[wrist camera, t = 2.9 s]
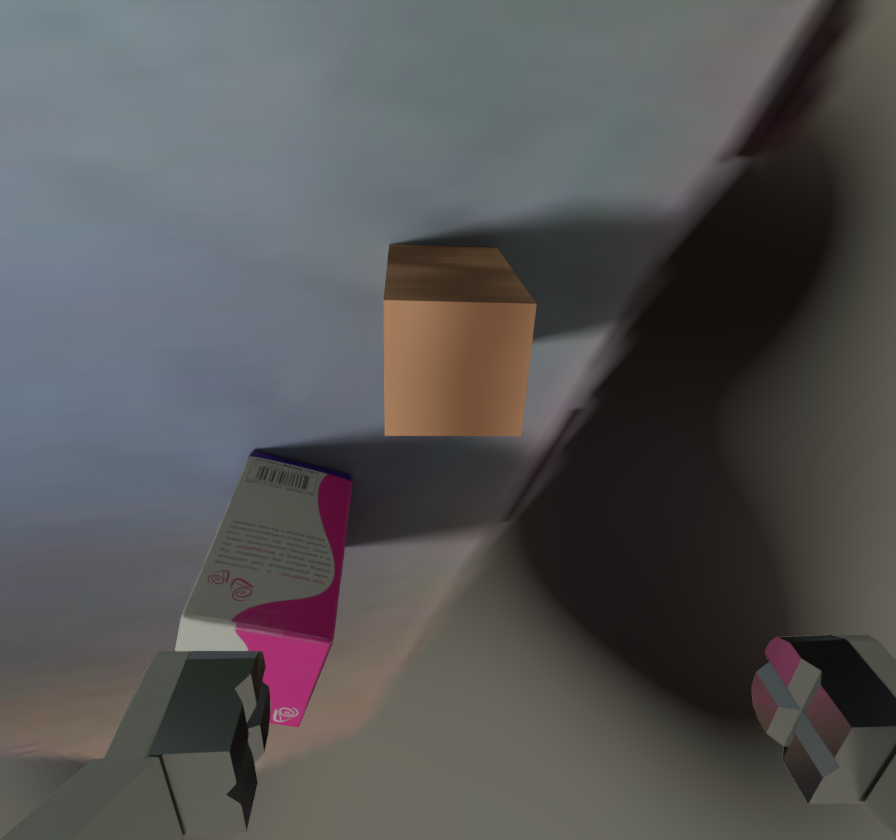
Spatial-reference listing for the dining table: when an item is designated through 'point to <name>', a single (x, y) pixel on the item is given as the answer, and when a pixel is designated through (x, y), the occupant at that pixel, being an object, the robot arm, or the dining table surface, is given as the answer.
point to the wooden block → (455, 342)
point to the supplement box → (275, 577)
